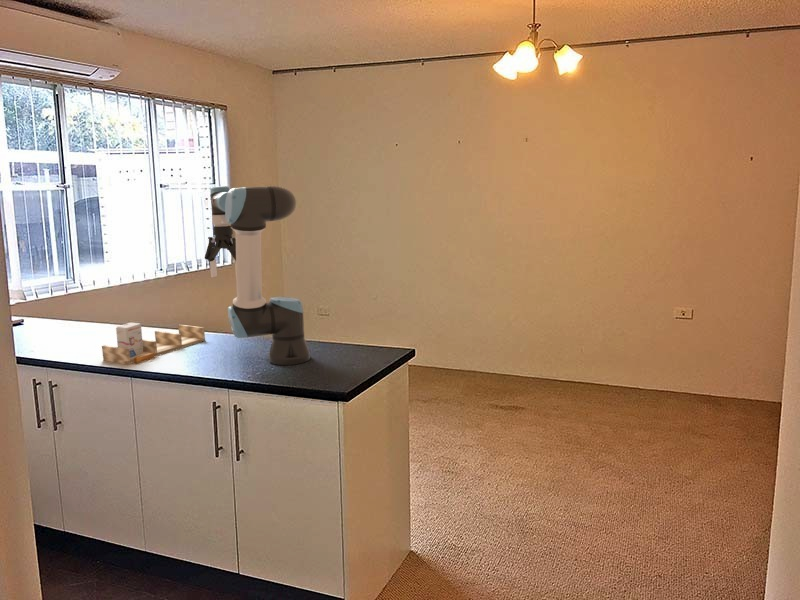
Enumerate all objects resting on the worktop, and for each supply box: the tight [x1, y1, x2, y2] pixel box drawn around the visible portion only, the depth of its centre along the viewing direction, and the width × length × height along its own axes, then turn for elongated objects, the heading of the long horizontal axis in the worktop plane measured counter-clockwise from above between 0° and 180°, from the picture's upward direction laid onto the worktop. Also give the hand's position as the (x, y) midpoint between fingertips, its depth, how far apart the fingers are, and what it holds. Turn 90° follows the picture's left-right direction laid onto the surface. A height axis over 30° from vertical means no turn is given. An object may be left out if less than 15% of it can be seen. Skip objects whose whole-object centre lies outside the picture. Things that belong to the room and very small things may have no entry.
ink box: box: [115, 322, 143, 357], centre depth 256 cm, size 9×5×12 cm, turn 162°
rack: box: [101, 324, 206, 366], centre depth 267 cm, size 16×38×6 cm, turn 151°
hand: (226, 277), depth 274 cm, fingers open, 13 cm apart
